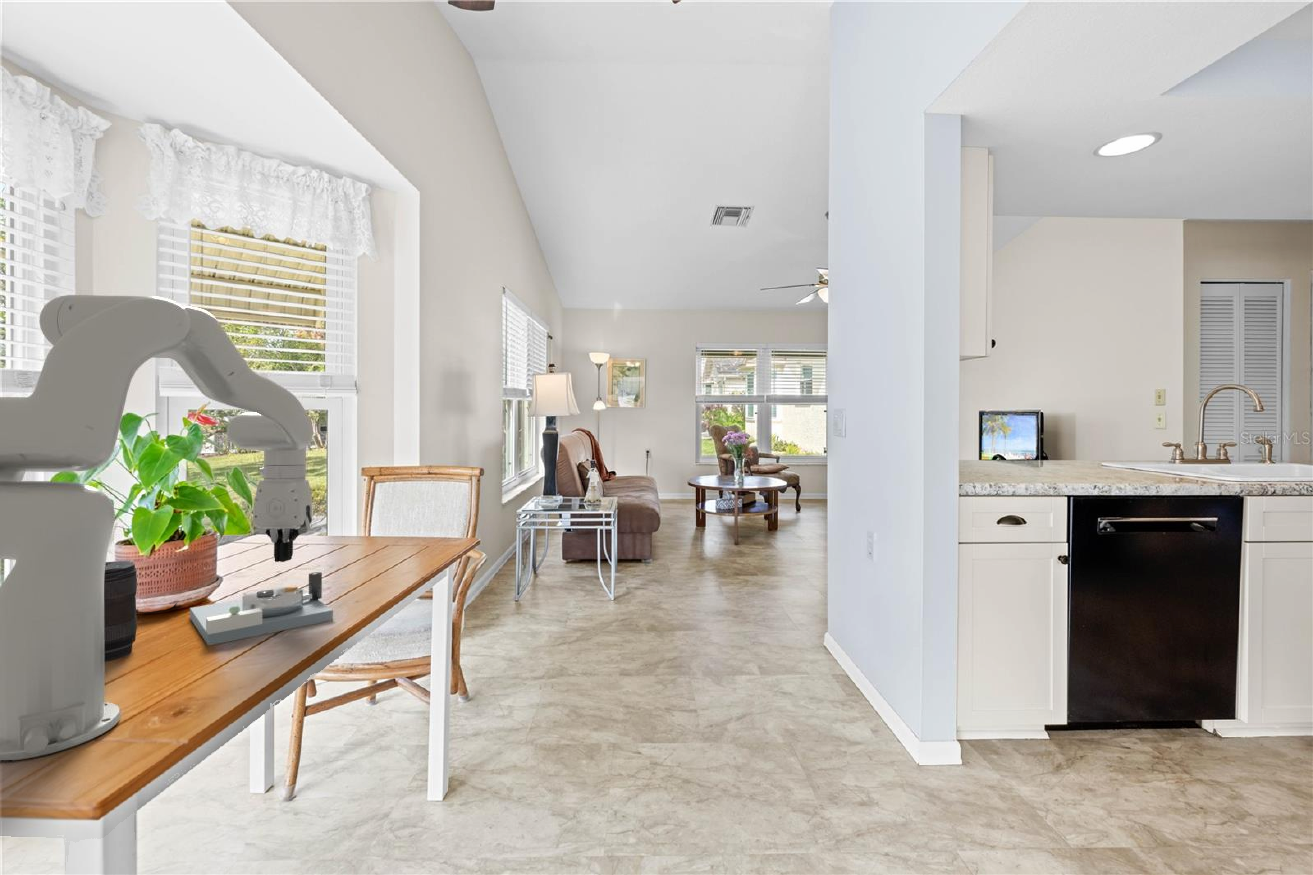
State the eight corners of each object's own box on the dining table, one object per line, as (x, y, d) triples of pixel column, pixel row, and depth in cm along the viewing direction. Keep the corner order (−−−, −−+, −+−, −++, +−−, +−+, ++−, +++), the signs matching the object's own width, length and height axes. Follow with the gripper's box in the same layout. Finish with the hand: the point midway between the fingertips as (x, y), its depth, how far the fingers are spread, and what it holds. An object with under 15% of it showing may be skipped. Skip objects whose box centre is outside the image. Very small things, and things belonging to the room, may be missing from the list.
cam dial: (260, 620, 110) (261, 592, 110) (231, 611, 115) (231, 585, 115) (335, 600, 123) (335, 575, 123) (306, 593, 128) (306, 569, 128)
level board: (333, 620, 118) (333, 590, 118) (208, 645, 103) (208, 611, 103) (303, 598, 132) (303, 571, 132) (189, 618, 118) (189, 588, 117)
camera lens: (61, 659, 97) (61, 568, 96) (124, 643, 104) (124, 558, 104) (83, 669, 93) (82, 574, 93) (146, 652, 100) (146, 564, 100)
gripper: (237, 474, 121) (235, 563, 121) (309, 475, 121) (307, 565, 121) (261, 472, 129) (260, 556, 128) (330, 473, 128) (328, 557, 128)
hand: (283, 560), depth 125 cm, fingers closed
